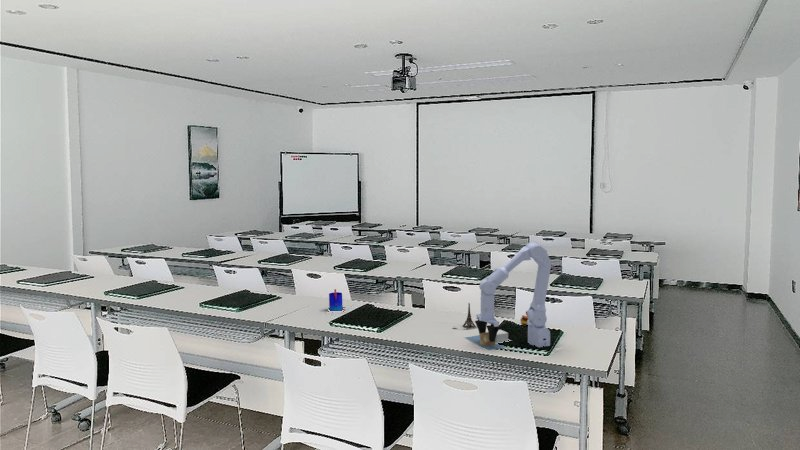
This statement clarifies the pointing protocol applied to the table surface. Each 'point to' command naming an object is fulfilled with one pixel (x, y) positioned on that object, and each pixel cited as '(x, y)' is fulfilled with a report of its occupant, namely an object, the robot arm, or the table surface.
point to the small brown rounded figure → (524, 319)
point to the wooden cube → (485, 339)
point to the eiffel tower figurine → (468, 322)
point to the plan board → (477, 341)
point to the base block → (501, 336)
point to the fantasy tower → (335, 301)
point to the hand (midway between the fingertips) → (487, 339)
